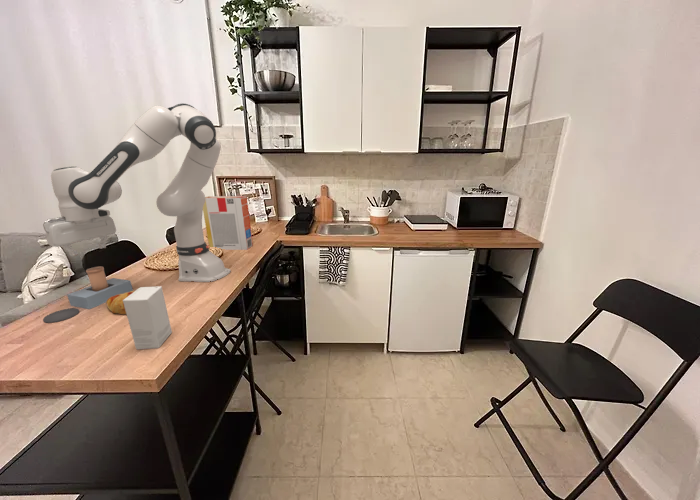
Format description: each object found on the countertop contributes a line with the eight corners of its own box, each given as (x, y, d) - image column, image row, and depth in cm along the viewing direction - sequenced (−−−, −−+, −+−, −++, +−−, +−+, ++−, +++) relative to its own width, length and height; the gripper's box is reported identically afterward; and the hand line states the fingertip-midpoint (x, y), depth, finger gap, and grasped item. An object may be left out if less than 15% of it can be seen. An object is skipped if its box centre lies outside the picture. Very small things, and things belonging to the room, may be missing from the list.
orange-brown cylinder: (114, 295, 116) (106, 267, 112) (101, 301, 111) (91, 271, 107) (105, 294, 117) (97, 265, 114) (91, 299, 113) (82, 270, 109)
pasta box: (252, 245, 179) (246, 195, 170) (247, 249, 171) (240, 197, 162) (216, 245, 181) (208, 196, 172) (209, 249, 173) (200, 198, 164)
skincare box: (151, 333, 90) (139, 286, 85) (174, 332, 90) (163, 285, 85) (134, 350, 82) (120, 299, 77) (159, 349, 82) (147, 298, 77)
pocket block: (133, 290, 120) (130, 280, 118) (89, 309, 105) (85, 297, 104) (115, 287, 123) (112, 277, 121) (70, 305, 108) (66, 294, 107)
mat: (85, 311, 104) (85, 309, 104) (54, 324, 96) (54, 323, 95) (68, 308, 107) (68, 306, 106) (37, 320, 98) (36, 319, 98)
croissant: (104, 317, 107) (86, 304, 102) (125, 294, 114) (109, 281, 108) (147, 324, 101) (131, 311, 95) (167, 300, 107) (153, 286, 102)
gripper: (47, 220, 94) (60, 261, 98) (114, 210, 113) (122, 245, 117) (35, 219, 96) (48, 259, 100) (102, 209, 114) (111, 243, 118)
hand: (88, 251), depth 108 cm, fingers open, 8 cm apart
